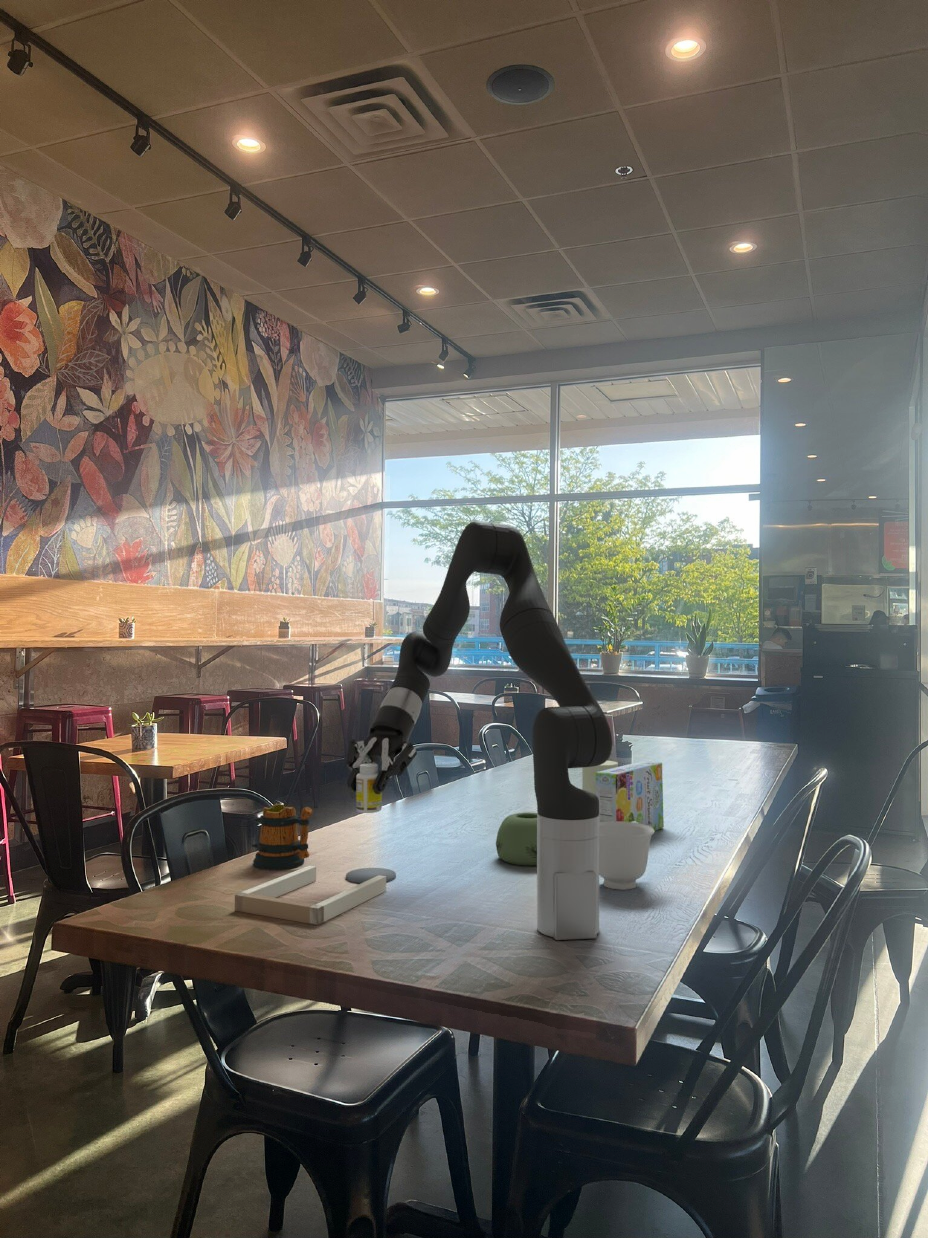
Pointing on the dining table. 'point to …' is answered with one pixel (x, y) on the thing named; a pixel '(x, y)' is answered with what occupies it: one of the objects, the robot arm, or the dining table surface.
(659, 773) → the snack box
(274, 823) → the mug
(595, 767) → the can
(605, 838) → the teacup
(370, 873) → the coaster
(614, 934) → the dining table surface
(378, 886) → the beige frame
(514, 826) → the mug
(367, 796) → the supplement bottle
